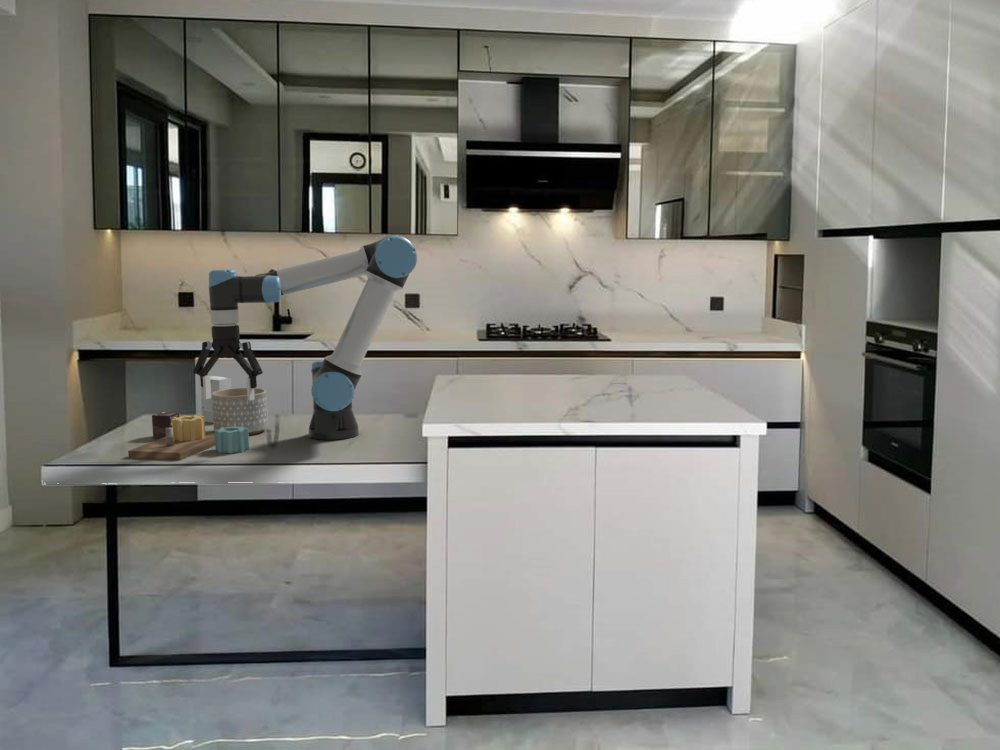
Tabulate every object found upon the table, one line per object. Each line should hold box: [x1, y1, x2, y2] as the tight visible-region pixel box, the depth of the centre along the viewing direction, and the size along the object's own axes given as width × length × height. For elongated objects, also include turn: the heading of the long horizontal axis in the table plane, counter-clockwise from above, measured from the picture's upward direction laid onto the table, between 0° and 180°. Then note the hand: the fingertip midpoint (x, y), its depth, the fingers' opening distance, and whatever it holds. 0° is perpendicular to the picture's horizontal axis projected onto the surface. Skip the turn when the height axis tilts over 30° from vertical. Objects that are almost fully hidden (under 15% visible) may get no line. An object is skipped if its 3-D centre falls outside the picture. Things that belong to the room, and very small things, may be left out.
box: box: [151, 411, 180, 440], centre depth 285 cm, size 6×6×7 cm
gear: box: [214, 426, 250, 454], centre depth 266 cm, size 9×9×6 cm
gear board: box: [127, 428, 215, 461], centre depth 268 cm, size 16×26×7 cm, turn 167°
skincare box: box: [201, 375, 232, 424], centre depth 308 cm, size 8×6×15 cm
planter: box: [212, 387, 269, 436], centre depth 291 cm, size 16×16×13 cm
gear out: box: [171, 414, 206, 442], centre depth 273 cm, size 9×9×6 cm
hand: (229, 399), depth 265 cm, fingers open, 13 cm apart
